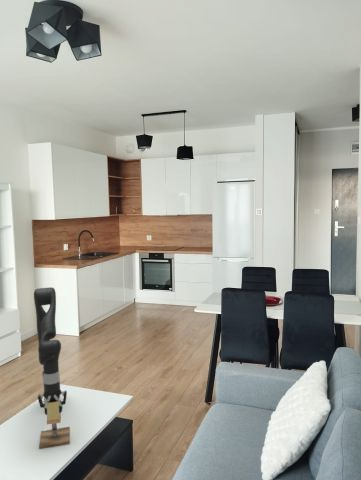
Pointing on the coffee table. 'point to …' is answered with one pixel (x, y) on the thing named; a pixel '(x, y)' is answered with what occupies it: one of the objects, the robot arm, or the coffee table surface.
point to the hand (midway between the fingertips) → (53, 413)
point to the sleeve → (53, 410)
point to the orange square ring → (54, 421)
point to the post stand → (54, 437)
